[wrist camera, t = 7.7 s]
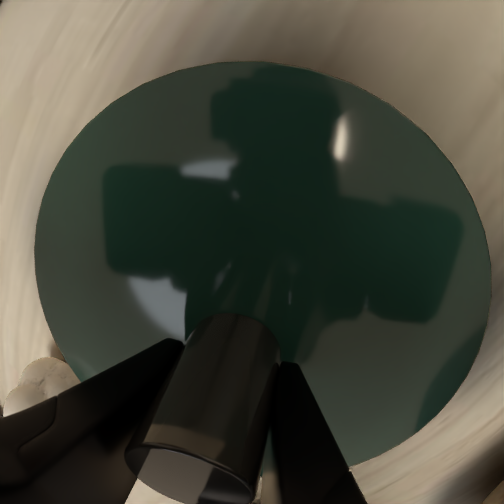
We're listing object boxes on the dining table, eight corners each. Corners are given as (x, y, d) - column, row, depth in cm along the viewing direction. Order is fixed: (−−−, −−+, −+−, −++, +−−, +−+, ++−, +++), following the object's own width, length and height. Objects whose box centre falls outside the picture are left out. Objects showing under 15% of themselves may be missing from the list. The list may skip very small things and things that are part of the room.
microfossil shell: (101, 350, 13) (30, 437, 7) (136, 427, 14) (93, 506, 9) (38, 337, 13) (-28, 402, 8) (75, 409, 15) (29, 473, 10)
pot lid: (384, 467, 11) (388, 566, 6) (92, 407, 12) (38, 484, 8) (522, 133, 6) (669, 168, 1) (48, 84, 7) (-94, 93, 3)
